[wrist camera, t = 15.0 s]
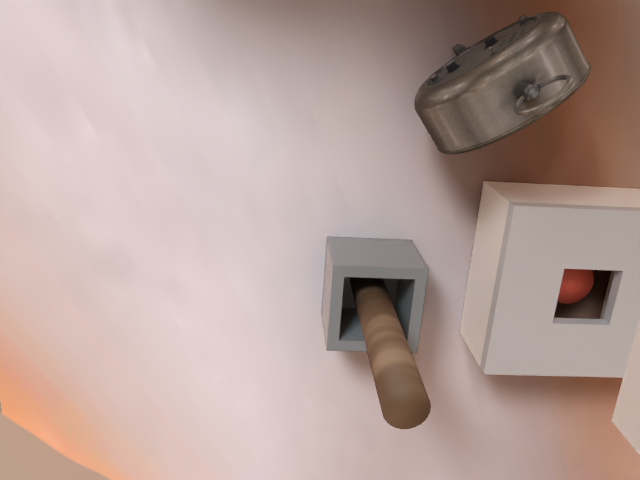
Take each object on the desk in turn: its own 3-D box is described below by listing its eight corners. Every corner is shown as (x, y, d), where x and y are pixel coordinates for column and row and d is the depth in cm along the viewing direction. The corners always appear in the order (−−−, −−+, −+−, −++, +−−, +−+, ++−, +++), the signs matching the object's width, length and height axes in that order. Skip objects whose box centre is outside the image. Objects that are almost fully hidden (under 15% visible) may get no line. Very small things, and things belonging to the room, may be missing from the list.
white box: (483, 181, 50) (514, 205, 43) (645, 188, 51) (699, 214, 44) (459, 331, 54) (483, 374, 48) (608, 335, 55) (651, 378, 49)
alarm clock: (423, 139, 48) (488, 195, 33) (388, 81, 46) (441, 111, 31) (544, 61, 47) (672, 82, 31) (514, -2, 45) (633, -12, 30)
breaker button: (537, 246, 51) (552, 259, 48) (581, 248, 51) (598, 261, 48) (529, 287, 52) (543, 302, 49) (571, 289, 52) (588, 304, 49)
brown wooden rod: (351, 264, 51) (384, 387, 34) (384, 266, 51) (433, 388, 34) (348, 295, 52) (380, 428, 35) (381, 296, 52) (427, 429, 35)
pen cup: (327, 236, 50) (333, 265, 45) (411, 239, 51) (428, 268, 45) (321, 313, 53) (326, 350, 47) (402, 315, 53) (417, 352, 48)
